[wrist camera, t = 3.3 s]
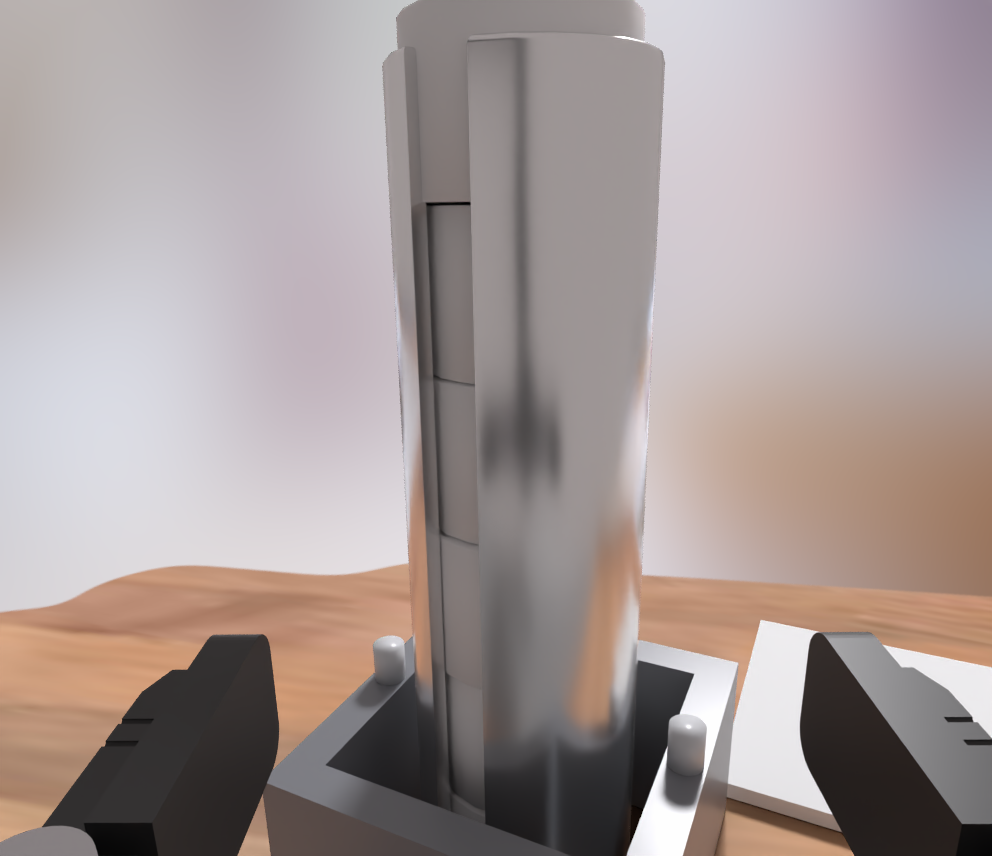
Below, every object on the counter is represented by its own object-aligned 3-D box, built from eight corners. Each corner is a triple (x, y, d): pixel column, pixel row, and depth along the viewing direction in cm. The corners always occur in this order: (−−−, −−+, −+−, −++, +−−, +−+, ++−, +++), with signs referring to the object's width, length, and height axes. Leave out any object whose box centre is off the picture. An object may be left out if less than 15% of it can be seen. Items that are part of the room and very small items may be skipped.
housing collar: (283, 949, 22) (256, 743, 20) (458, 725, 31) (452, 569, 29) (646, 1135, 18) (660, 894, 15) (725, 808, 27) (741, 631, 25)
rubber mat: (717, 794, 28) (718, 780, 27) (759, 630, 38) (760, 619, 38) (1128, 920, 22) (1133, 905, 22) (1048, 691, 33) (1051, 679, 33)
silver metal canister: (669, 919, 23) (731, -11, 16) (469, 1008, 20) (434, -45, 13) (566, 775, 29) (577, 47, 21) (401, 832, 26) (349, 31, 19)
